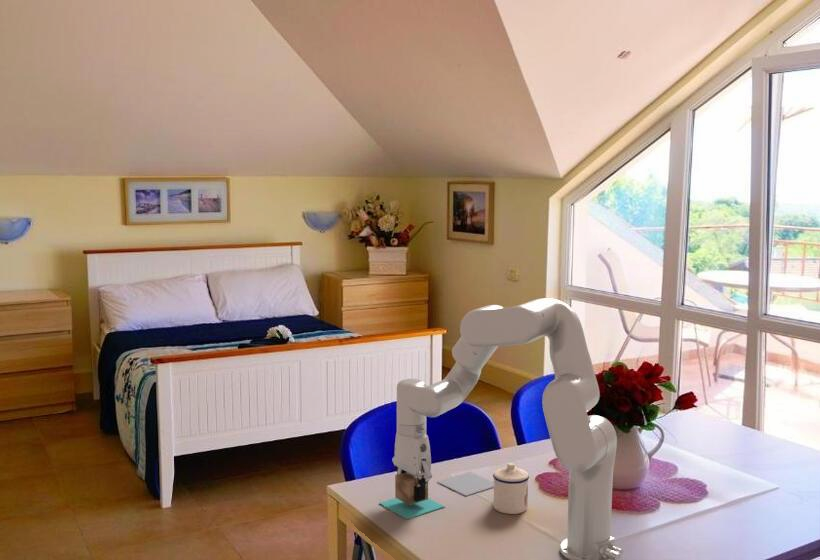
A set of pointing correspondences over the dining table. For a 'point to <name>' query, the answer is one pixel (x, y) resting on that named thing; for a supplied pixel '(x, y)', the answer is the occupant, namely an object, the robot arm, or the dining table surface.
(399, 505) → the teal mat
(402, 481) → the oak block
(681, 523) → the dining table surface
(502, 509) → the teacup with lid
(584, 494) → the robot arm
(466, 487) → the grey mat
